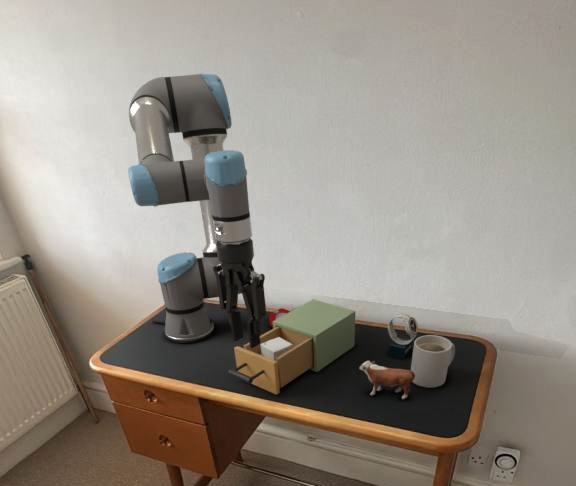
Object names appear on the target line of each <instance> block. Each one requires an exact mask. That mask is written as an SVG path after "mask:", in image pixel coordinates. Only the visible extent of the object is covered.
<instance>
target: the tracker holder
mask: <svg viewBox="0 0 576 486" xmlns="http://www.w3.org/2000/svg"><path fill="white" fill-rule="evenodd" d="M291 311H292V310H289V309H286V308H284V307H283V308H282V307H280V308H278V309H276V310H274V311H272V312H270V314H269V326H270V327H271V328H272V329H273V321H274V320H276V319H278V318H280V317H282V316H284V315H285V314H287V313H289V312H291Z"/></svg>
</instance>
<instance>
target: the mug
mask: <svg viewBox="0 0 576 486" xmlns="http://www.w3.org/2000/svg"><path fill="white" fill-rule="evenodd" d="M455 354H456V346H455V344H454V343H453V342H452V341H451V340H449V338H446V337H444V336H440V335H437V334H428V335H427V334H426V335H422V336H419V337H417V338H416V339H415V340H414V341H413V349H412V357H411V365H410V370H411V371H413V372H414V374H415V378H414V380H413V381H411V383H413V384H415V385H416V386H419V387H422V388H437V387H440V386H442V385H444V384H445V382H446V380H447V374H448V370H449V366H450V365H451V364H452V362H453V360H454V359H455Z"/></svg>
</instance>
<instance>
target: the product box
mask: <svg viewBox="0 0 576 486" xmlns="http://www.w3.org/2000/svg"><path fill="white" fill-rule="evenodd" d="M292 348H293V347H292V344H291V343H289V342H287V341H285V340H284V339H282V338H280V337H278V338H275V339H272V340H269V341H267V342H265V343H262V344H261V355H262V356H264V357H267V358H269V359H272V360H275V361H277V358H278V357H279V356H281V355H282V354H284V353H286V352H287V351H289V350H290V349H292Z"/></svg>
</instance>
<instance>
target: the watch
mask: <svg viewBox="0 0 576 486" xmlns="http://www.w3.org/2000/svg"><path fill="white" fill-rule="evenodd" d="M396 319H402V322H403V324H404V329H405V333H406V334H407V335H408V336H409V337H410V339H409V338H406V337H402V336H401V337H400V336H398V335H397V333H396V330H395V326H394V320H396ZM387 332H388V334H389V337H390V339H391V341H392V342H391V343H390V344H389V346H388V356H389V357H394V358H399V359H402V360H404V359H405V358H406V356H407V355H408V354H409V353H410V352H411V351H412V345H413V340H414V339H415V338H416V337H417V335H418V333H419V325H418V322H417V320H416V318H415V317H413V316H411V315H409V314H406V313H399V314H396V315H394V316H393V317H392V318H391V319H390V320H389V322H388V323H387Z"/></svg>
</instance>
